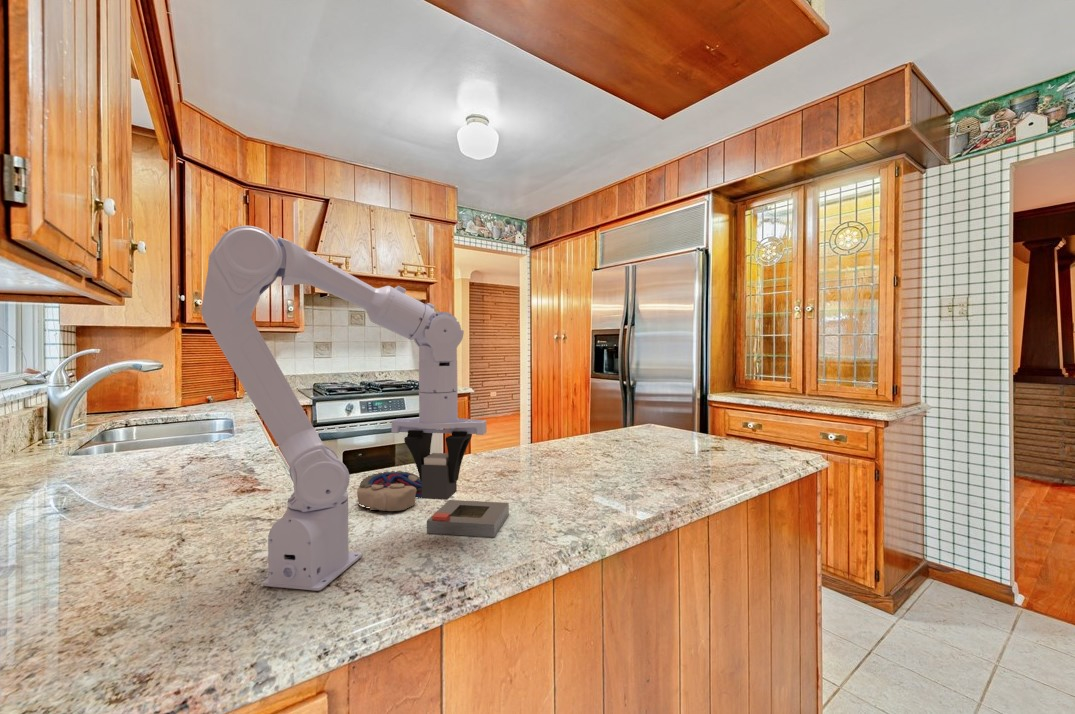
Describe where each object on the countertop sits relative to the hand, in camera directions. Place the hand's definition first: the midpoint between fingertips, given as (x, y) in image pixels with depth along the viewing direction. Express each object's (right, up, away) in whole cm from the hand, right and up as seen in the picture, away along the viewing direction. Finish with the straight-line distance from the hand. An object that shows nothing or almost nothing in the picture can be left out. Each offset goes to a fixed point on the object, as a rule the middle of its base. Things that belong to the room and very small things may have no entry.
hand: (439, 480), depth 68 cm
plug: (0, -2, 0) cm, 2 cm away
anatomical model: (-13, -9, +18) cm, 25 cm away
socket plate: (+4, -9, +7) cm, 12 cm away
